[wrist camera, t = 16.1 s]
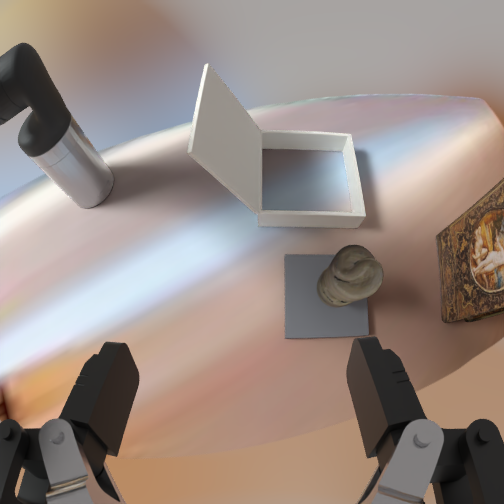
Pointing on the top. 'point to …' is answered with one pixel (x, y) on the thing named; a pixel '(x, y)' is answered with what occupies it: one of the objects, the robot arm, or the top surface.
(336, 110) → the top surface
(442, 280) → the book
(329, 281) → the twisted stone column
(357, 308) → the mat
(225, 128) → the box
